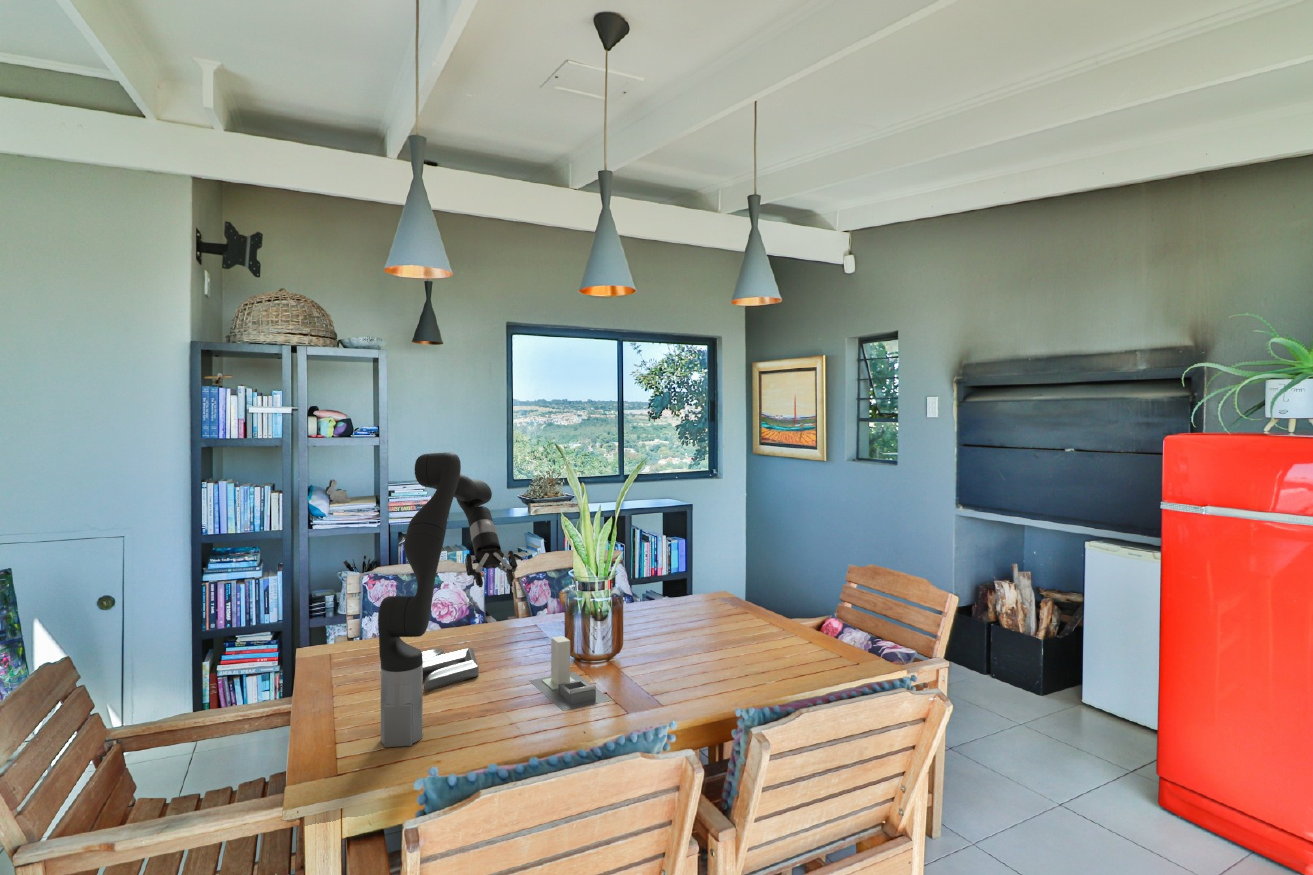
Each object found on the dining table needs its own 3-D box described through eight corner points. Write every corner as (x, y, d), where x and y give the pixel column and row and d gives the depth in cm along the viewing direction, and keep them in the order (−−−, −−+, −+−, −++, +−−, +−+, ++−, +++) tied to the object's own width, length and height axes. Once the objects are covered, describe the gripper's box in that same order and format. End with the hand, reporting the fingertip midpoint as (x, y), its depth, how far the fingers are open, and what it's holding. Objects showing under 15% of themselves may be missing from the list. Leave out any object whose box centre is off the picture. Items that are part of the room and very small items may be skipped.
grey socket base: (562, 715, 182) (563, 696, 182) (528, 684, 203) (528, 667, 202) (612, 704, 189) (612, 686, 189) (574, 675, 210) (574, 659, 210)
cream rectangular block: (558, 685, 198) (558, 642, 198) (551, 680, 202) (551, 637, 202) (569, 683, 200) (570, 640, 199) (562, 677, 204) (562, 635, 204)
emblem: (416, 638, 227) (498, 645, 221) (416, 655, 227) (498, 662, 222) (361, 668, 200) (454, 677, 194) (361, 687, 200) (454, 697, 194)
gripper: (463, 532, 208) (473, 579, 198) (511, 529, 215) (523, 574, 205) (458, 547, 212) (468, 594, 203) (505, 544, 220) (517, 589, 210)
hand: (496, 584), depth 204 cm, fingers open, 8 cm apart
